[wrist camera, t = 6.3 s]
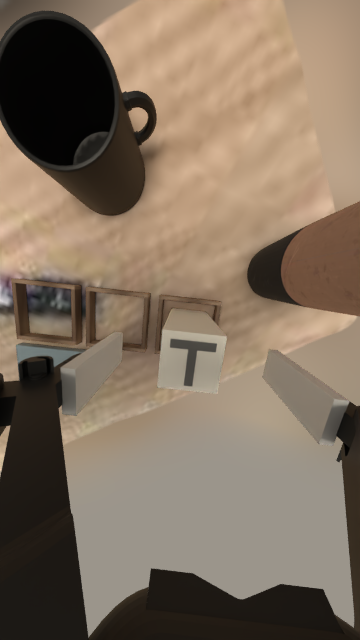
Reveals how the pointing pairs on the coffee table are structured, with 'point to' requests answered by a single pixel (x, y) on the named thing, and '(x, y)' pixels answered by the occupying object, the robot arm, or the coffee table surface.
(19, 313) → the wooden picture frame
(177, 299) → the wooden frame right
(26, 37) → the mug
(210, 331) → the letter block
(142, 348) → the wooden window frame
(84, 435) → the coffee table surface
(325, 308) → the travel mug
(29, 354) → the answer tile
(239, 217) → the coffee table surface
